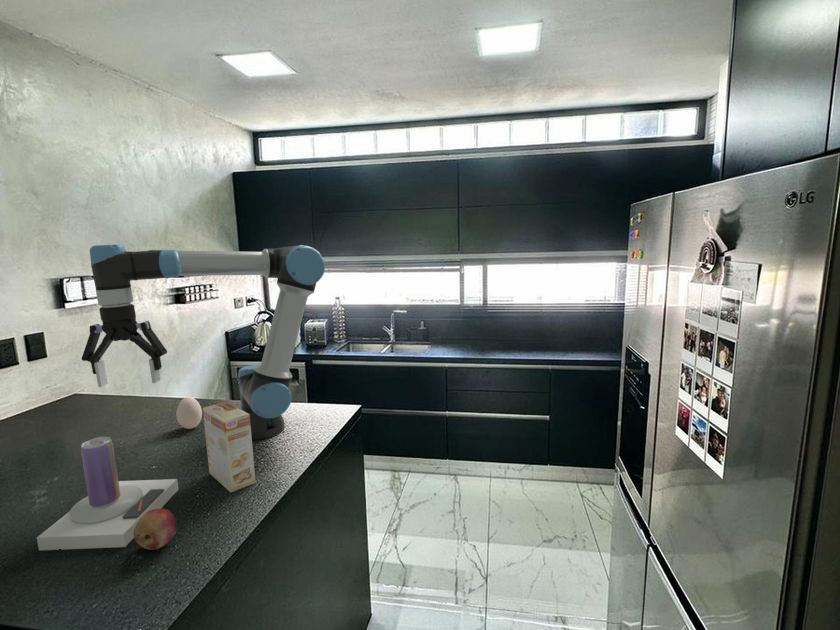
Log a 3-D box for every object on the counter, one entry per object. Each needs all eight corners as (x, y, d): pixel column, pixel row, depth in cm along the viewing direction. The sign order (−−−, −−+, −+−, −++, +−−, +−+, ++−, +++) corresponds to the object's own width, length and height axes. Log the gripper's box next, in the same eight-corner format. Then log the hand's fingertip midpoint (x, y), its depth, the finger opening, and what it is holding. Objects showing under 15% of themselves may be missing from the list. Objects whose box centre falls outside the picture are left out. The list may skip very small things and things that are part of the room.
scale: (178, 489, 115) (176, 475, 114) (125, 547, 93) (122, 529, 92) (108, 492, 114) (106, 478, 114) (38, 550, 92) (35, 533, 92)
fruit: (129, 550, 92) (124, 515, 91) (166, 529, 98) (162, 497, 97) (149, 563, 88) (144, 527, 87) (186, 541, 94) (182, 507, 93)
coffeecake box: (256, 482, 117) (250, 413, 114) (230, 493, 112) (222, 422, 109) (233, 464, 128) (227, 400, 124) (208, 473, 123) (201, 407, 119)
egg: (208, 425, 155) (205, 395, 153) (187, 434, 148) (184, 402, 147) (194, 422, 159) (190, 392, 157) (173, 430, 152) (169, 399, 150)
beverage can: (104, 510, 99) (94, 448, 97) (83, 507, 101) (73, 446, 98) (126, 495, 105) (118, 437, 103) (106, 493, 106) (97, 435, 104)
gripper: (173, 300, 117) (184, 375, 121) (75, 305, 116) (89, 382, 119) (159, 304, 110) (171, 384, 114) (54, 310, 108) (70, 391, 112)
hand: (129, 383), depth 117 cm, fingers open, 13 cm apart
